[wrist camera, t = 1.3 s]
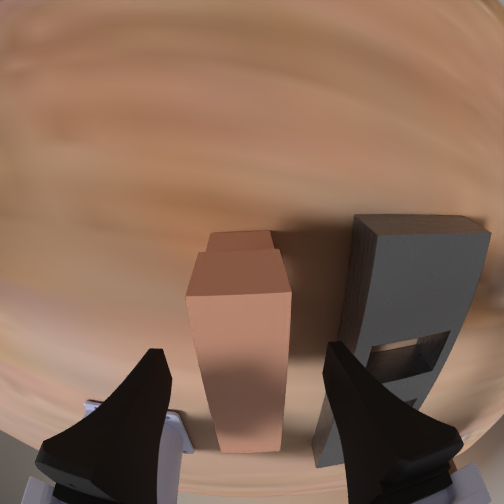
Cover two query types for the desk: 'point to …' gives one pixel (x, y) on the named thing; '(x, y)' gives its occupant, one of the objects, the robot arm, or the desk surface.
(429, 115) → the desk surface
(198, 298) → the tan tabbed block
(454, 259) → the grey slotted tapered plate
